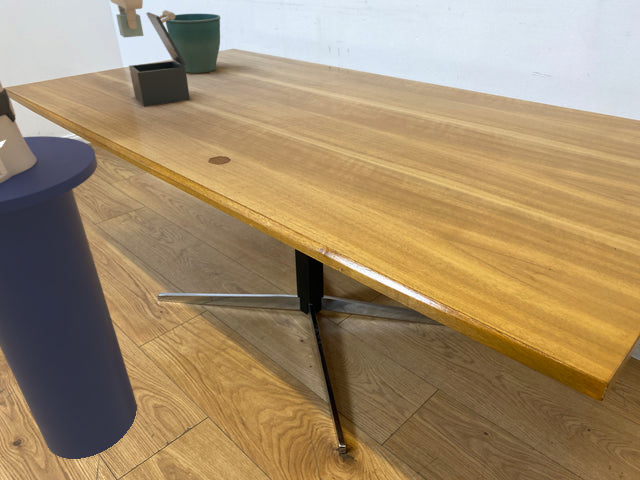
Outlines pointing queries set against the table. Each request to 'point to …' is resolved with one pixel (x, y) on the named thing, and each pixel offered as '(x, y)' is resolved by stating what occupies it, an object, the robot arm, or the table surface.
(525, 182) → the table surface
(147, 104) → the dark grey open box
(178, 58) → the lid
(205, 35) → the flower pot
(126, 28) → the block
